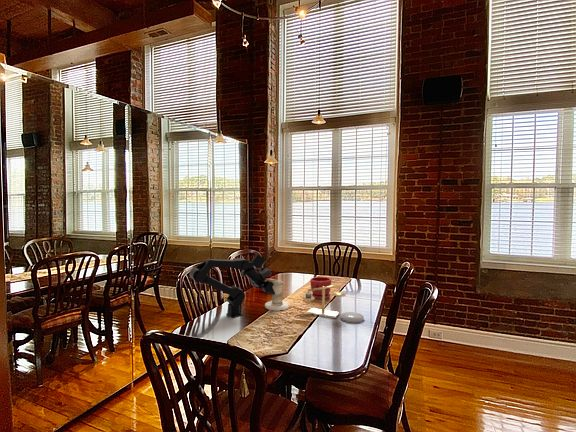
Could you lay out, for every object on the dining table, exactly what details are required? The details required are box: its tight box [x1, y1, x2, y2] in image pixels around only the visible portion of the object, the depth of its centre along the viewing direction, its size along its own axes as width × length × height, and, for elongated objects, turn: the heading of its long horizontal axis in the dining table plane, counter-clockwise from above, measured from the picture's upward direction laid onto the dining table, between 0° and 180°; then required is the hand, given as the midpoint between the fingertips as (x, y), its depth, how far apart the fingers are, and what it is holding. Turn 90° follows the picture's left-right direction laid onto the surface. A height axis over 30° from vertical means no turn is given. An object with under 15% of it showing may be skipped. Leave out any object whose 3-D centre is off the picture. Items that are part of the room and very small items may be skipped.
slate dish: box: [340, 311, 364, 324], centre depth 185 cm, size 12×12×2 cm
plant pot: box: [310, 276, 332, 300], centre depth 222 cm, size 13×13×12 cm
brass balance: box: [301, 284, 347, 319], centre depth 191 cm, size 24×7×17 cm, turn 66°
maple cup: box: [271, 280, 284, 306], centre depth 202 cm, size 7×7×13 cm
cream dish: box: [264, 300, 290, 312], centre depth 202 cm, size 14×14×2 cm
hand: (270, 292), depth 200 cm, fingers open, 9 cm apart
